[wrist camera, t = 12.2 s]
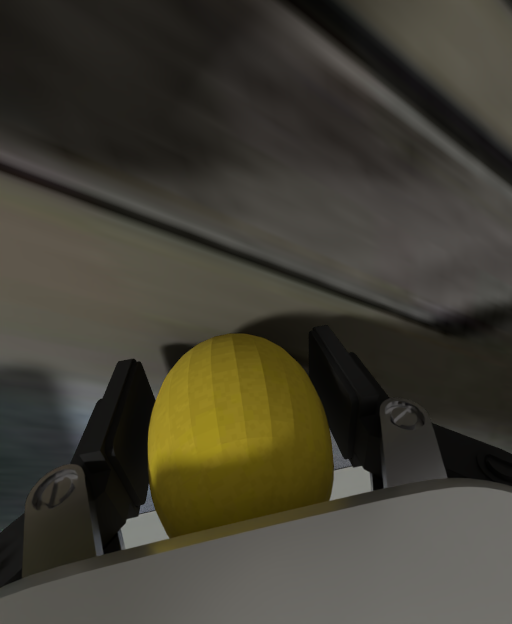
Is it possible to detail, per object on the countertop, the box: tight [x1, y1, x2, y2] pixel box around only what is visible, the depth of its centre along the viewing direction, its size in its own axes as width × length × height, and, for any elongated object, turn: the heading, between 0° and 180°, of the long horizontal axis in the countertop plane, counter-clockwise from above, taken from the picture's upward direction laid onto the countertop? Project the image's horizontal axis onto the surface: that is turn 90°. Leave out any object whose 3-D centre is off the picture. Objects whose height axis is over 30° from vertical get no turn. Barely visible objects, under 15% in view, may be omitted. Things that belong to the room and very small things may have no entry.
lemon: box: [148, 334, 334, 538], centre depth 9 cm, size 6×6×8 cm
